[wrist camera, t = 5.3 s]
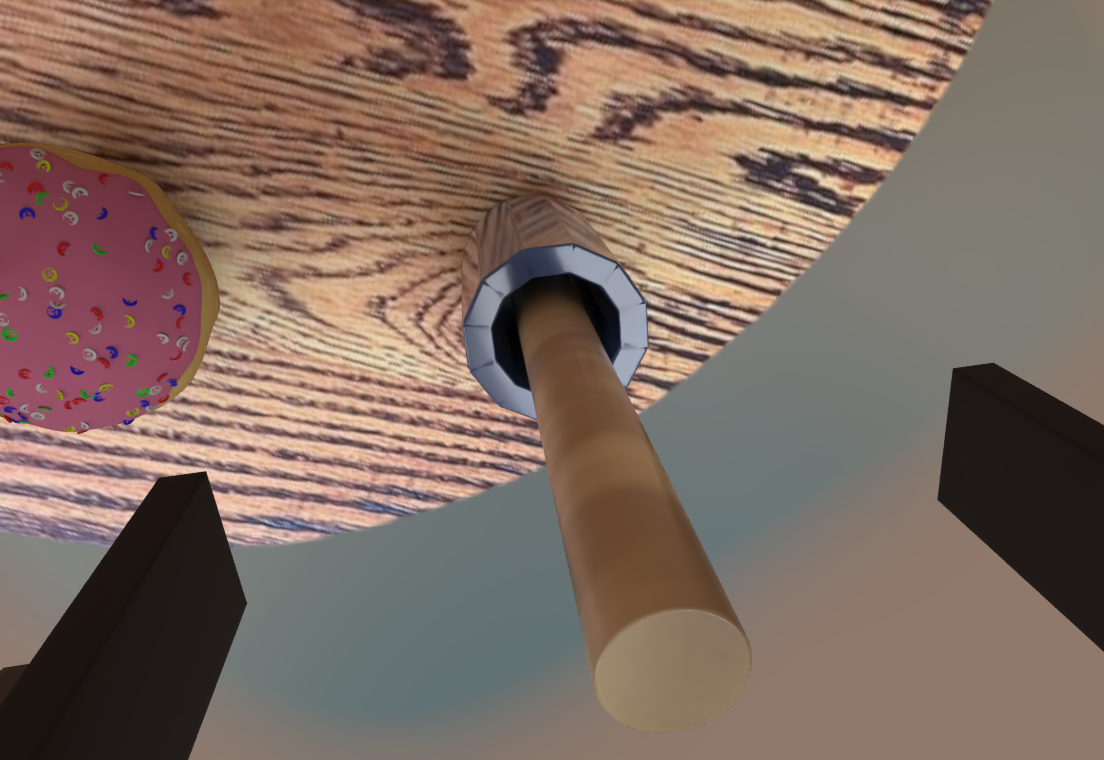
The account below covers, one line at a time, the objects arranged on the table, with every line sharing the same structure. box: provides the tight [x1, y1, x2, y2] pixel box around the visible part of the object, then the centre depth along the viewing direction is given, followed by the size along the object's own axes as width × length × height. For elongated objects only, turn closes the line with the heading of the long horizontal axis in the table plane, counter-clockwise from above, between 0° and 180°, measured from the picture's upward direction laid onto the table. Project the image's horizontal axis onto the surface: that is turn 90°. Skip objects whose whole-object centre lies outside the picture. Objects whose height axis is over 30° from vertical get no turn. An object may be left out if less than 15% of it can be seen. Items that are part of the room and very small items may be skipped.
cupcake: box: [0, 143, 220, 434], centre depth 21 cm, size 9×8×12 cm
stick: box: [511, 274, 752, 733], centre depth 19 cm, size 2×2×20 cm
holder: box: [462, 195, 649, 420], centre depth 25 cm, size 5×5×8 cm
